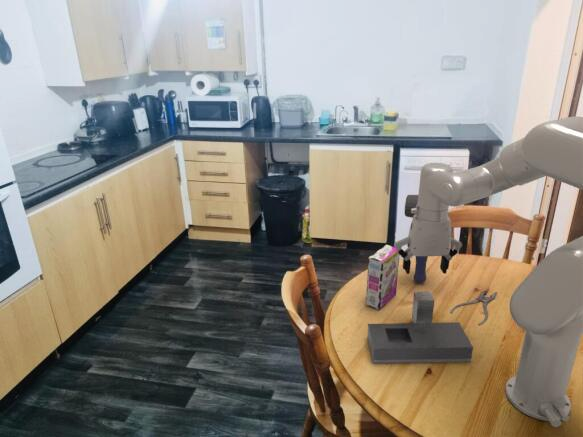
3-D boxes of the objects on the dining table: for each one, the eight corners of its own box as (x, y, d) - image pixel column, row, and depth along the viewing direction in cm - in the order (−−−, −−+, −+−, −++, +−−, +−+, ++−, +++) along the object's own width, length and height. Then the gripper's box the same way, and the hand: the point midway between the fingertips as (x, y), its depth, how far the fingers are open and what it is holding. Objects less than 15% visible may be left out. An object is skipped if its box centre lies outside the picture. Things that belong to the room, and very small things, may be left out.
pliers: (448, 314, 124) (465, 283, 140) (448, 317, 125) (465, 285, 140) (484, 325, 119) (498, 291, 135) (483, 328, 120) (497, 293, 135)
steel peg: (431, 328, 120) (434, 300, 116) (415, 328, 120) (418, 300, 116) (427, 318, 124) (430, 291, 120) (411, 318, 124) (414, 291, 121)
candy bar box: (380, 311, 128) (382, 262, 122) (365, 305, 131) (367, 257, 124) (397, 294, 136) (400, 247, 129) (383, 289, 139) (385, 243, 132)
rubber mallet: (398, 284, 141) (404, 198, 130) (401, 273, 147) (408, 190, 136) (438, 291, 137) (448, 202, 125) (440, 279, 143) (450, 194, 132)
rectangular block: (470, 362, 107) (473, 347, 105) (373, 363, 108) (374, 348, 106) (457, 336, 116) (459, 322, 114) (367, 337, 117) (368, 323, 115)
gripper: (400, 218, 106) (395, 278, 113) (472, 218, 106) (462, 278, 112) (394, 207, 113) (389, 264, 120) (461, 206, 112) (452, 264, 119)
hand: (424, 271), depth 116 cm, fingers open, 9 cm apart
